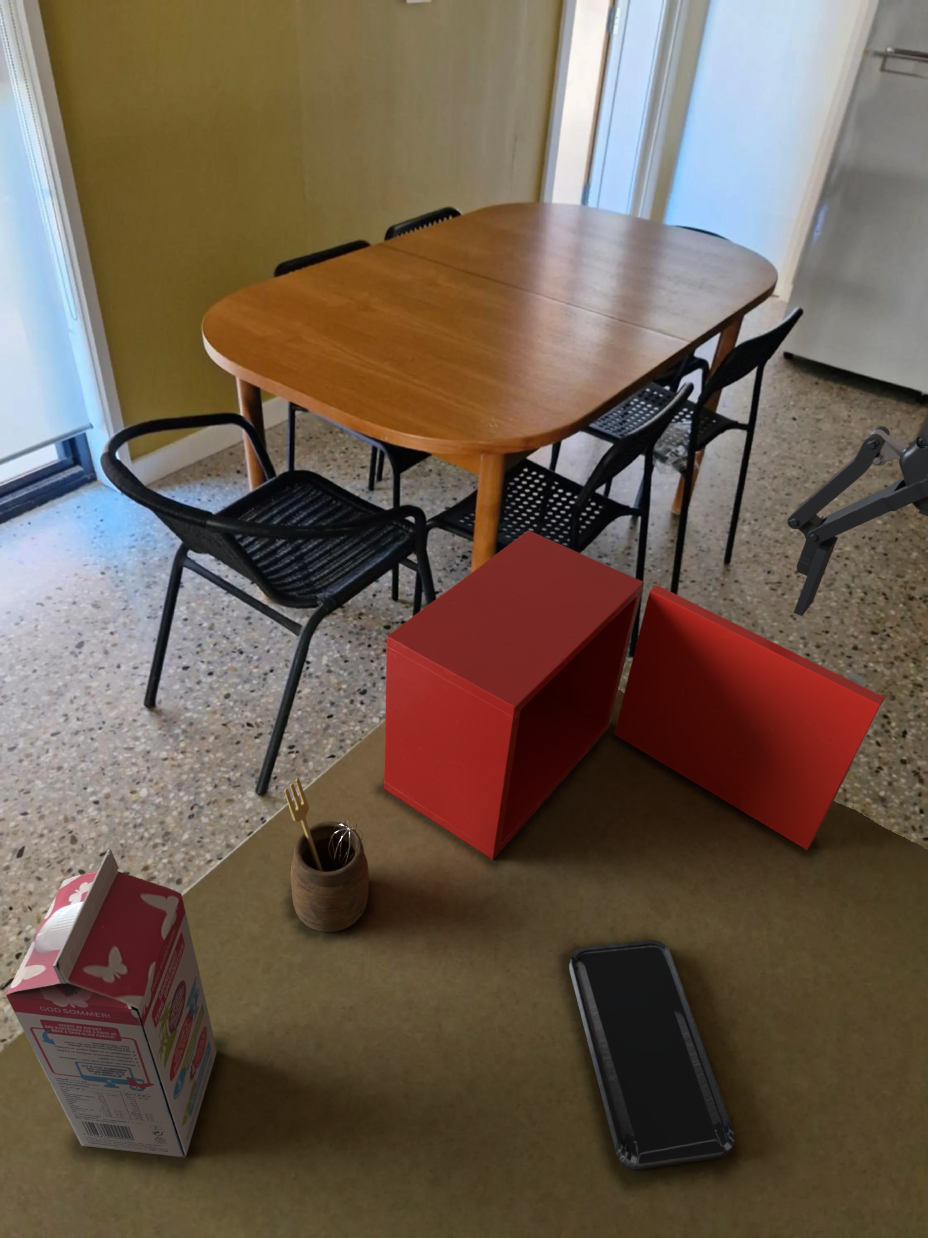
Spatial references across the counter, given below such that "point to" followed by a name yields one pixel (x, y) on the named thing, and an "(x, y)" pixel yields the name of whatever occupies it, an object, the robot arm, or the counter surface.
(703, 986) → the counter surface
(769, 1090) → the counter surface
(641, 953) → the phone
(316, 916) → the utensil holder
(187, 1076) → the juice carton
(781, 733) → the red cabinet door
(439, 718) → the cabinet
